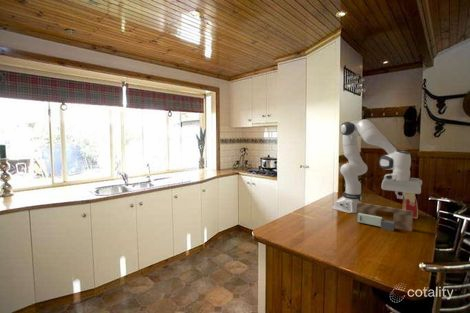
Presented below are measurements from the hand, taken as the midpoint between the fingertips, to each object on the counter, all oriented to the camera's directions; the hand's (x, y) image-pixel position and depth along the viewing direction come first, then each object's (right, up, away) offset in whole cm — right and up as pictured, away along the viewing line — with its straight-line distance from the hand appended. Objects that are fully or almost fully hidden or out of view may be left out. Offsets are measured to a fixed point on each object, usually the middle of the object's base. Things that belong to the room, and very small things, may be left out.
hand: (399, 198), depth 148 cm
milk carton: (+27, -18, +29) cm, 44 cm away
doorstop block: (-4, -21, +6) cm, 22 cm away
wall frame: (-3, -20, +13) cm, 24 cm away
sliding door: (-12, -19, +12) cm, 26 cm away
